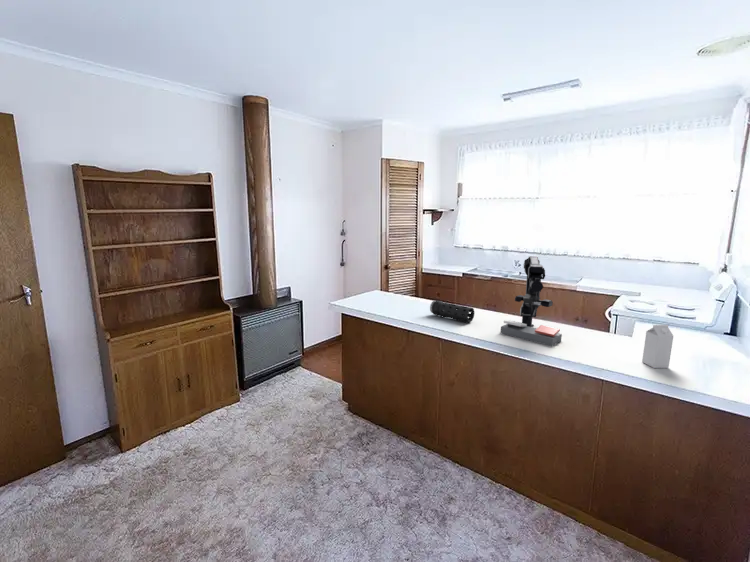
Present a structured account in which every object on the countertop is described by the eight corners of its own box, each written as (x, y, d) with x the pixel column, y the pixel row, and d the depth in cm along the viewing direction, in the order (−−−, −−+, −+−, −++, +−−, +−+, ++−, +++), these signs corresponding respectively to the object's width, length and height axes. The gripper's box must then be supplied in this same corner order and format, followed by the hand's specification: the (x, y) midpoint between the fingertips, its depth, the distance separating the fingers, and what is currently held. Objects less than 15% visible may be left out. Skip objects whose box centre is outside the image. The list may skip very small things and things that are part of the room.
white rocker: (509, 322, 226) (510, 320, 226) (526, 326, 219) (526, 324, 219) (503, 322, 220) (503, 320, 220) (520, 326, 213) (520, 324, 213)
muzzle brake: (466, 325, 236) (467, 308, 234) (428, 316, 255) (429, 301, 253) (474, 322, 243) (475, 306, 241) (437, 313, 261) (437, 298, 260)
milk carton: (641, 362, 179) (647, 322, 176) (656, 362, 180) (661, 322, 177) (653, 368, 172) (659, 327, 169) (668, 368, 173) (675, 327, 170)
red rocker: (541, 326, 213) (541, 324, 213) (559, 331, 206) (559, 328, 206) (534, 332, 208) (534, 330, 208) (553, 336, 201) (553, 334, 200)
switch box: (510, 329, 228) (510, 321, 228) (561, 340, 208) (561, 332, 207) (500, 333, 220) (500, 325, 219) (552, 346, 200) (553, 337, 199)
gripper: (511, 287, 210) (509, 315, 213) (545, 293, 197) (542, 322, 200) (520, 285, 218) (518, 311, 221) (554, 290, 205) (551, 318, 207)
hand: (532, 316), depth 212 cm, fingers closed
